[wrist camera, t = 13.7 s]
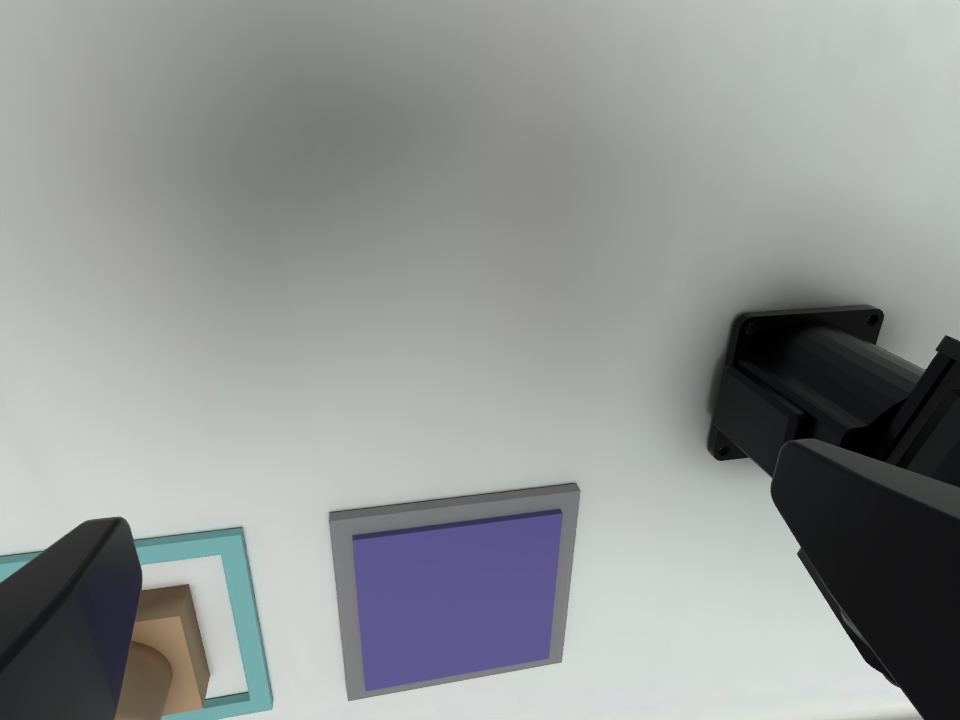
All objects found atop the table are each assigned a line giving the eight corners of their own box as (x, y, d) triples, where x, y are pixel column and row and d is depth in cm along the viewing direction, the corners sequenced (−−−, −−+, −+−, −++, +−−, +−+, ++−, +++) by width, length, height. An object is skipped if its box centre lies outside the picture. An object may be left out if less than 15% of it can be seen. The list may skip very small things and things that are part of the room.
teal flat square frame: (241, 527, 23) (240, 534, 22) (273, 701, 27) (272, 709, 26) (-55, 563, 21) (-62, 571, 21) (26, 744, 25) (22, 754, 25)
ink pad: (576, 483, 25) (583, 495, 25) (558, 653, 30) (563, 667, 29) (329, 512, 23) (329, 526, 23) (347, 691, 28) (348, 707, 27)
